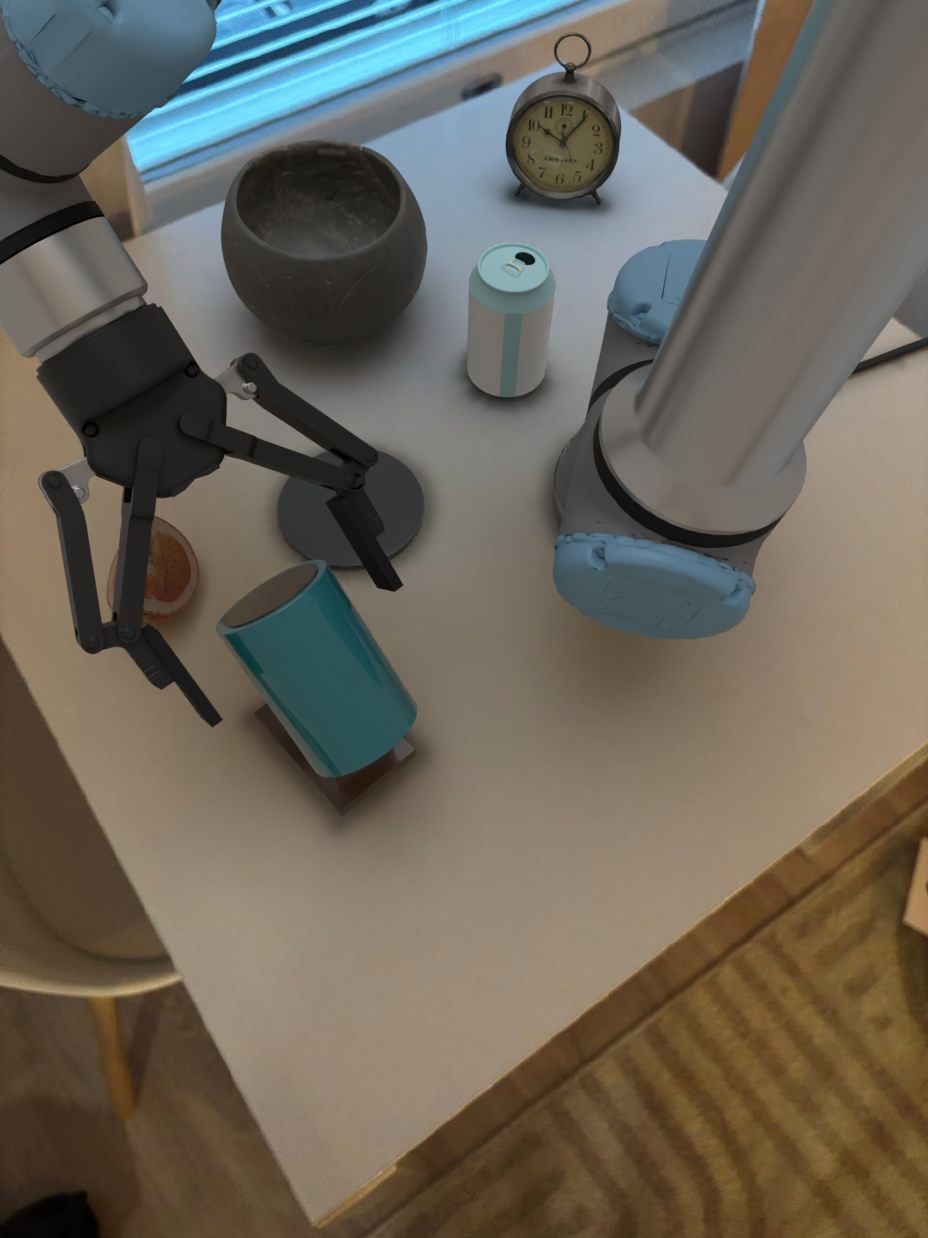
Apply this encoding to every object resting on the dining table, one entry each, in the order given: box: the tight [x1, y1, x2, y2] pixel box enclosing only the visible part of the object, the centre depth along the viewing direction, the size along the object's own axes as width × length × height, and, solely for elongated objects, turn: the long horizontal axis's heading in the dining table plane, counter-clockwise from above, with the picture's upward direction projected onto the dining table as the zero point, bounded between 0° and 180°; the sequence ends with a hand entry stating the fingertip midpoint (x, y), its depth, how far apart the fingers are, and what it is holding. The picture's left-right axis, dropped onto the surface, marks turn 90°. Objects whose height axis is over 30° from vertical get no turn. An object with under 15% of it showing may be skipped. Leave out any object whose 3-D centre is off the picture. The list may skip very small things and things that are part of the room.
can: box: [466, 241, 557, 398], centre depth 80 cm, size 7×7×12 cm
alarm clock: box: [504, 31, 622, 206], centre depth 90 cm, size 11×5×16 cm, turn 80°
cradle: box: [253, 702, 417, 817], centre depth 64 cm, size 10×7×11 cm
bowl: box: [220, 138, 428, 347], centre depth 83 cm, size 18×18×13 cm
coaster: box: [276, 449, 425, 571], centre depth 78 cm, size 12×12×1 cm
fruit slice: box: [106, 515, 200, 623], centre depth 72 cm, size 8×7×5 cm
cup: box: [215, 559, 418, 777], centre depth 58 cm, size 13×8×13 cm, turn 42°
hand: (305, 650), depth 58 cm, fingers open, 13 cm apart
